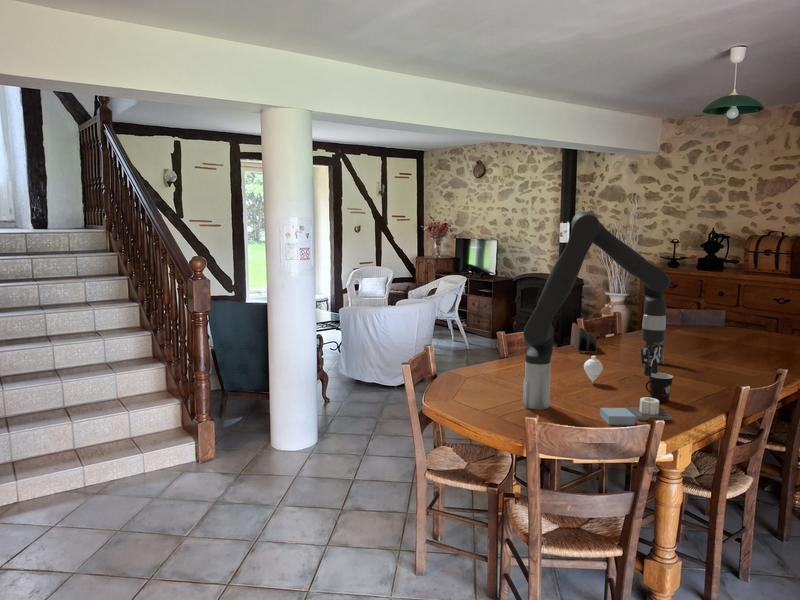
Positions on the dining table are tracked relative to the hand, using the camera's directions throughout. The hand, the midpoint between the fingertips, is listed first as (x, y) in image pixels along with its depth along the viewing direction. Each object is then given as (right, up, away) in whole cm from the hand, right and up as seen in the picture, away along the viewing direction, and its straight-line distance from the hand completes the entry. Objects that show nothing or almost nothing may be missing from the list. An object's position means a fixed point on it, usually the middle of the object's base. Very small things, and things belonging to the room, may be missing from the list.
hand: (650, 374), depth 201 cm
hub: (0, -15, +2) cm, 15 cm away
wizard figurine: (+37, -5, +78) cm, 87 cm away
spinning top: (-6, -10, +44) cm, 45 cm away
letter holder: (+12, -1, +111) cm, 111 cm away
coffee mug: (+10, -13, +20) cm, 26 cm away
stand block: (-13, -16, -3) cm, 21 cm away
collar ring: (0, -14, +2) cm, 14 cm away
